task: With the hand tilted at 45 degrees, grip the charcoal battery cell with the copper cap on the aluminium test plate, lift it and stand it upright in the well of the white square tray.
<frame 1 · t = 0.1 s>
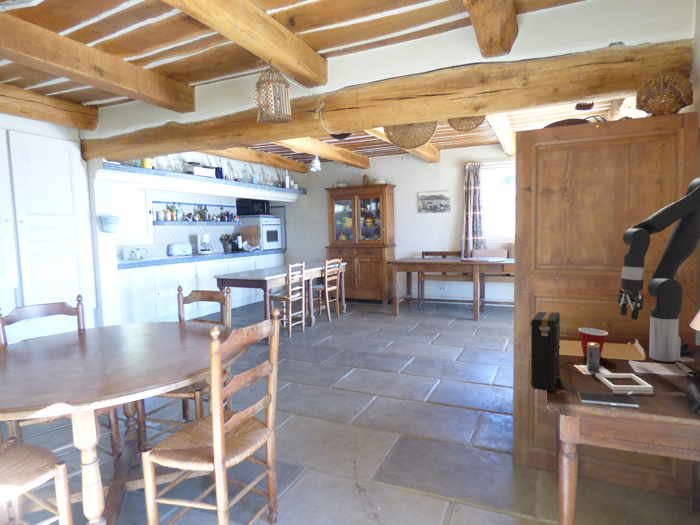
hand: (628, 317, 170), 17 cm above the table, tool pointing down, fingers open, 8 cm apart
black carrying case: (546, 385, 148), on the table
test plate: (592, 372, 158), on the table
battery cell: (592, 369, 158), point 1 cm above the table, touching test plate
plastic cup: (592, 358, 174), on the table
white square tray: (622, 385, 144), on the table
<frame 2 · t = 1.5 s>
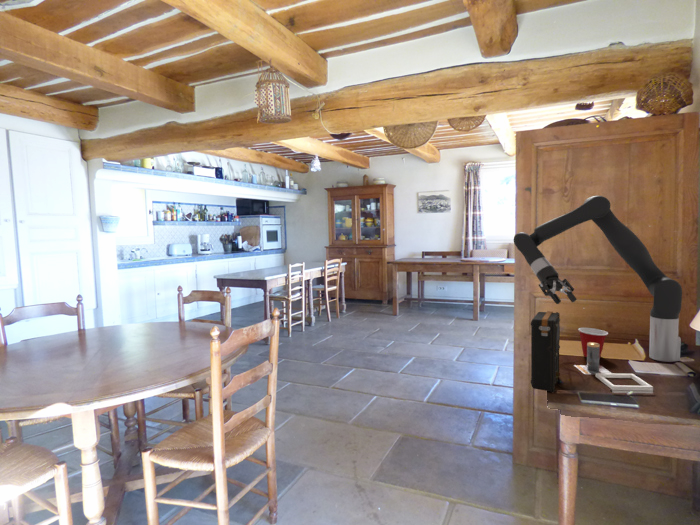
hand: (566, 302, 166), 25 cm above the table, tool tilted 45°, fingers open, 8 cm apart
nothing on the table moved.
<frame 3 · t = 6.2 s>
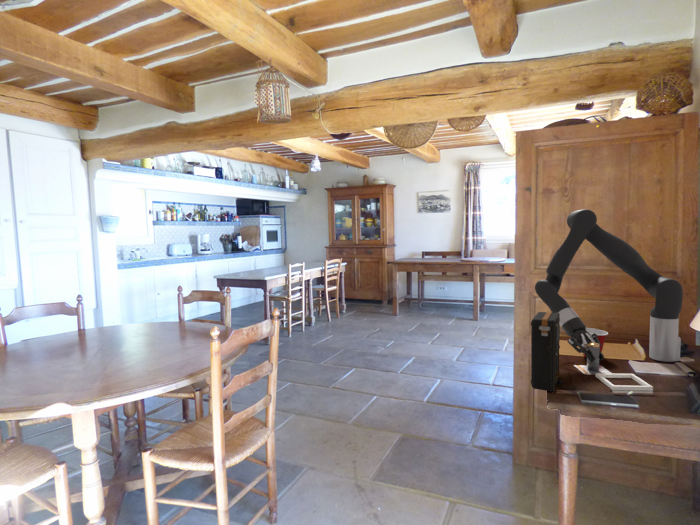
hand: (598, 359, 155), 5 cm above the table, tool tilted 45°, fingers closed on battery cell, 4 cm apart
battery cell: (592, 369, 158), point 1 cm above the table, touching gripper, test plate
everything else where it was.
when the fingers open (7 cm above the table, at t = 11.8 s): battery cell drops 1 cm, resting on white square tray.
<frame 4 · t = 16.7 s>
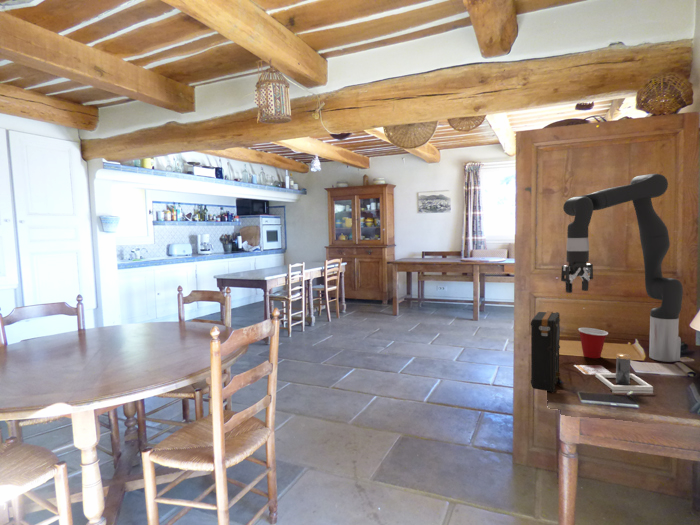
hand: (577, 291, 161), 30 cm above the table, tool pointing down, fingers open, 8 cm apart
battery cell: (622, 383, 144), point 1 cm above the table, touching white square tray
everything else where it was.
at the end: battery cell 0.1 cm off-centre on the white square tray, point 0.8 cm above the white square tray's base; battery cell tilted 1°; the gripper is holding nothing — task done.
